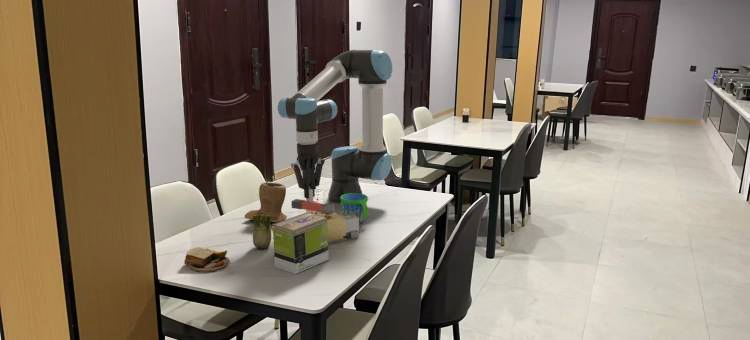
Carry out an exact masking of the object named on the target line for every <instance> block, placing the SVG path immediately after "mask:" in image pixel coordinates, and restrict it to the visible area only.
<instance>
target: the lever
mask: <svg viewBox="0 0 750 340" xmlns="http://www.w3.org/2000/svg"><path fill="white" fill-rule="evenodd" d="M290 205H291V209H296V210H306V211H311V212H313V211H314V212H319V213H321V214H332V213H334V212H335V204H333V203H322V202H321V203H319V202H315V201H313V202H309V201H306V199H298V198H296V199H293V200H291V204H290Z"/></svg>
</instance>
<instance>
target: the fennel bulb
mask: <svg viewBox="0 0 750 340" xmlns="http://www.w3.org/2000/svg"><path fill="white" fill-rule="evenodd" d="M257 219H258V220H257ZM252 231H253V232H252V243H253V244H252V245H253V246H254V247H255V248H257V249H259V250H260V249H261V250H264V249H268V248H269V247H270V245H271V241H272V229H271V222H270V216H268V215H267V218H266V221H265V215H261V219H260V215H253V230H252Z"/></svg>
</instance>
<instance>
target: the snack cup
mask: <svg viewBox="0 0 750 340" xmlns="http://www.w3.org/2000/svg"><path fill="white" fill-rule="evenodd" d="M368 200H369V196H367V194H363V193H362V194H359V193H349V194H344V195H342V196H341V198H340V201H341V203H339V204H340V205H339V206H340V209H342V214H343V215H342V216H345V215H350V214H353V215H355V216H357V217H359V225H360V224H361V223H363V222H364V220H365V219H367V218H368V217H369V210H368V204H367V203H368Z"/></svg>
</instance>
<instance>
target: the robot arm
mask: <svg viewBox="0 0 750 340" xmlns="http://www.w3.org/2000/svg"><path fill="white" fill-rule="evenodd" d="M392 74H393V63H392V60H391V57H390V55H389V54H388V53H387V52H386V51H384V50H378V49H349V50H347V51H344V52H342V53H340V54H339V55H337V56H335V57H334V58H332V59H331V60H329V62H327V63H326V65H325V68H324V69H323V70H322V71H320V72H319V73H318V74H317V75H315V77H313V78H312V79H311V80H310V81H309V82H307V84H306V85H304V86H303V87H302V88H301V89H300V90H299V91H297V92H296V93H295V94H294V95H293V96H291V97H283V98H281V99H279V101H278V104H277V111H278V115H279V117H281V118H285V119H289V120H291V119H293V120H295V131H296V132H295V133H296V135H295V136H296V142H297V144H296V153H297V157H296V161H295V162H293V163H291V164H290V166H291V168H292V169H293V171H294V175H295V179H296V182H297V185H298V188H299V189H301V190H303V197H304V199H305V201H309V202H314V198H315V195H316V194H315V193H316V192H315V190H316V189H317V187H319V186H320V183H321V178H322V177H321V176H322V172H323V166H324V165H325V162H326V160H325V159H323V158H321V157H320V155H319V142H318V141H319V135H318V134H319V132H318V128H319V127H318V124H319V123H323V122H330V121H331V120H333V119H334V118H336V116H337V115H338V106H337V104H336V102H335V101H334V100H332V99H322V100H320V99H321V98H323V97H324V96H325V95H326V94H327V93H328V92H329V91H330V90H332V89H333V88H334V87H335V86H336V85H337V84H338V83H342V82H345V80H348V79H358V82H357V83H358V85H359V86H360V88H361V97H362V98H361V104H362V105H361V109H362V110H361V111H362V113H361V114H362V115H361V118H362V119H361V121H362V122H361V123H362V126H361V127H362V130H361V131H362V132H361V133H362V134H361V135H362V136H361V137H362V139H361V140H362V141H361V142H362V144H361V145H360V147H359V146H357V145H349V146H340V147H336V148H334V149H333V150H332V152H331V184H330V187H329V191H328V192H327V193H328V195H327V196H328V201H330V202H331V203H338V204H341V201H340V198H341V196H342V195H344V194H349V193H359V194H363V191H362V188H361V185H360V182H359V179H365V180H372V181H384V180H385V179H386V178H387V177H388V176H389V174H390V171H391V170H392V163H393V159H392V156H391V154H389V153H387V147H386V146H385V145H384V96H383V95H384V87H385V86H386V85H387V82H388V80H389V79H390V78H391V77H392ZM300 168H301V169H300Z"/></svg>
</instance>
